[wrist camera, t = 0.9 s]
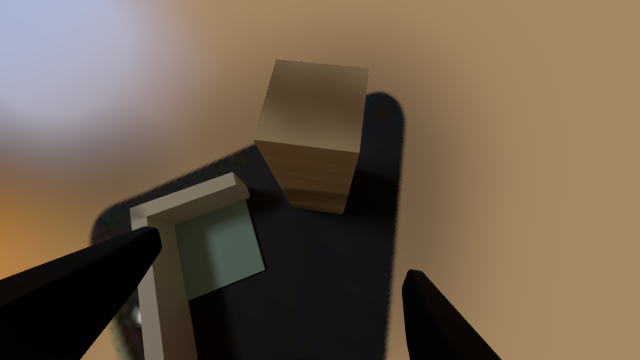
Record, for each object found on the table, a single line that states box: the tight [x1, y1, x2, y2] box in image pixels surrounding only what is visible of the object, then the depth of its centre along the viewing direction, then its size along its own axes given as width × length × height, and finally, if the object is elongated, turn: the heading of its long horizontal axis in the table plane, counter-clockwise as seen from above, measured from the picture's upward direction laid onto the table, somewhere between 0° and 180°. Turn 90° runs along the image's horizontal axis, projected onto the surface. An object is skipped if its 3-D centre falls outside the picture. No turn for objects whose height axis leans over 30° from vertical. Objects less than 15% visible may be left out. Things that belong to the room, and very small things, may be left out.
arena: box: [130, 172, 265, 360], centre depth 20 cm, size 13×9×4 cm
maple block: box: [253, 60, 368, 215], centre depth 18 cm, size 5×5×13 cm
